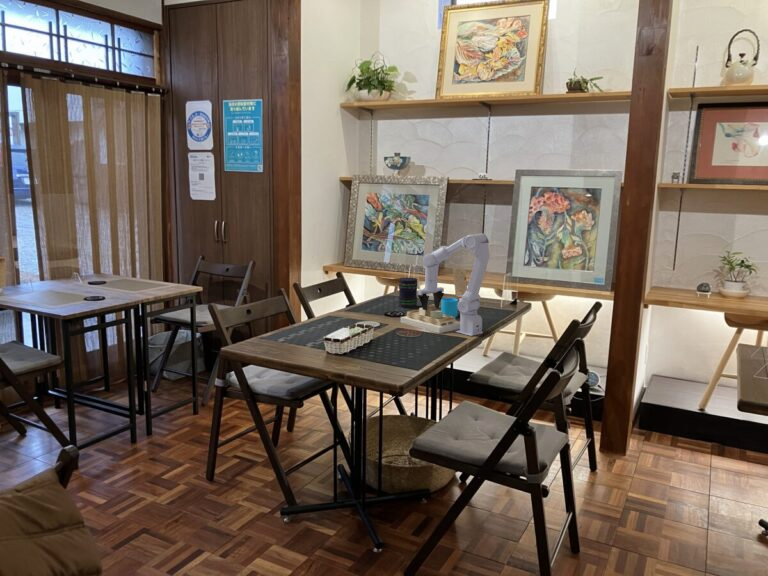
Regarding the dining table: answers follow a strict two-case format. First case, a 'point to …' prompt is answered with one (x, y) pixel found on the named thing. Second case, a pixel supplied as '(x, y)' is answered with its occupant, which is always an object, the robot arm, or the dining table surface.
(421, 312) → the off-white square block
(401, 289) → the storage jar
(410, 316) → the tan open box
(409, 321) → the dock
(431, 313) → the pale green block
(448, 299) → the mug
